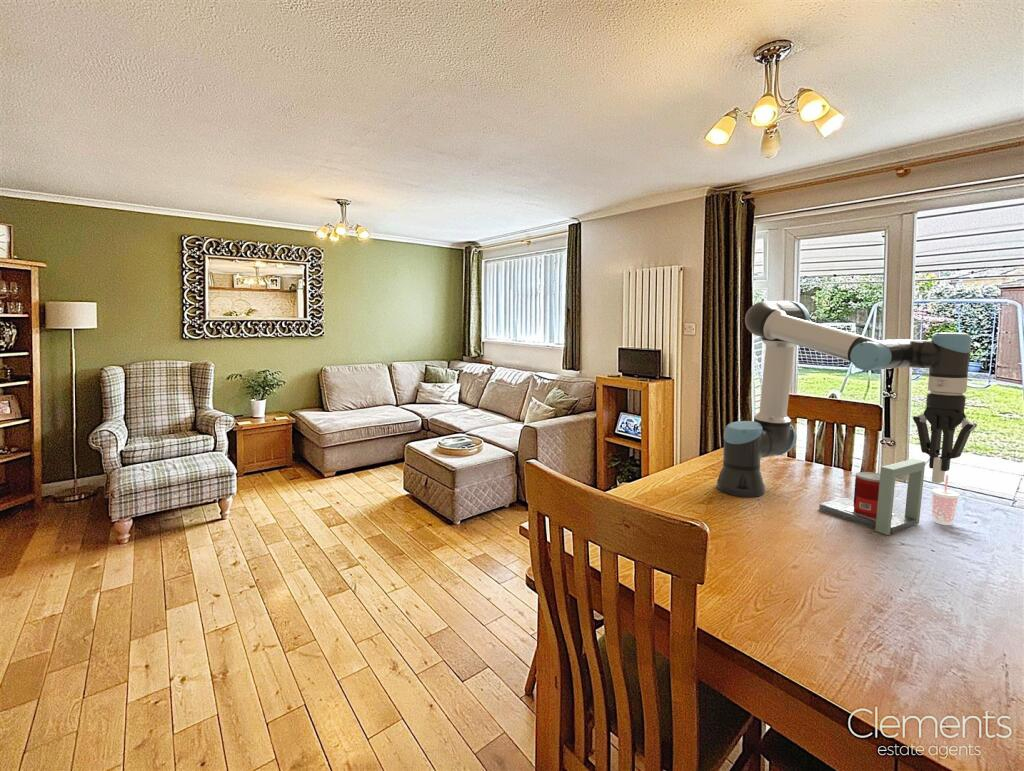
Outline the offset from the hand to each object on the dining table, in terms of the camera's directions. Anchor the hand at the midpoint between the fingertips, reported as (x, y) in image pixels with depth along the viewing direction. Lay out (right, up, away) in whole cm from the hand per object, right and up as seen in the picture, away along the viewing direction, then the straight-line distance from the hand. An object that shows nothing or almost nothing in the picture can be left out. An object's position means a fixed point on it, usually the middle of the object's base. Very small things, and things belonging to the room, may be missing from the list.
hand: (937, 481), depth 131 cm
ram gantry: (-3, -15, +9) cm, 18 cm away
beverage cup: (+13, -14, +13) cm, 23 cm away
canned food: (-7, -12, +16) cm, 21 cm away
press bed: (-7, -14, +17) cm, 23 cm away
